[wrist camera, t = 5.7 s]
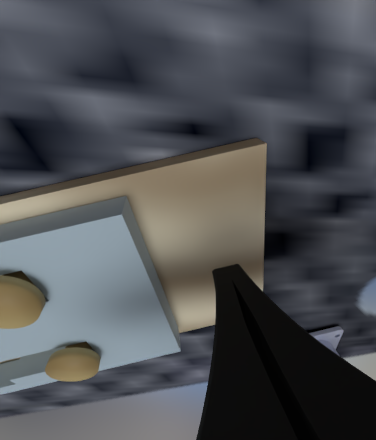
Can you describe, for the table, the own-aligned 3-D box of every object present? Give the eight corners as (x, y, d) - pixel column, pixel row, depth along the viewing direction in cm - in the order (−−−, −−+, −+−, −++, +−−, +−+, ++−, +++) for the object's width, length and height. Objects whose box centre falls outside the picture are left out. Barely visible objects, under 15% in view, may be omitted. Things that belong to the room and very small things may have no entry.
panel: (178, 328, 15) (180, 351, 13) (-23, 376, 14) (-40, 404, 13) (126, 195, 9) (121, 214, 8) (-212, 273, 9) (-274, 306, 7)
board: (256, 301, 16) (279, 347, 13) (-5, 363, 16) (-39, 425, 13) (256, 137, 9) (301, 161, 6) (-197, 241, 9) (-358, 314, 6)
